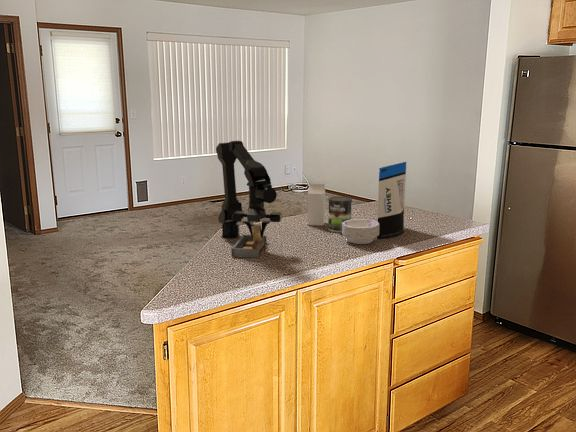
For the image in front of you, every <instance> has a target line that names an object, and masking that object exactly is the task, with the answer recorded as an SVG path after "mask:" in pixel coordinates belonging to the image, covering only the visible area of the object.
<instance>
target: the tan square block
mask: <svg viewBox="0 0 576 432" xmlns="http://www.w3.org/2000/svg"><path fill="white" fill-rule="evenodd" d="M253 243H254V241H247V243H246V242H245V247H252V244H253Z"/></svg>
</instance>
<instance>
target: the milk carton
mask: <svg viewBox="0 0 576 432" xmlns="http://www.w3.org/2000/svg"><path fill="white" fill-rule="evenodd" d="M325 222H326V188H325V183H313V182H311V183H309V184H308V191H307V226H320V227H321V226H324V224H325Z"/></svg>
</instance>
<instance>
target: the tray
mask: <svg viewBox="0 0 576 432" xmlns="http://www.w3.org/2000/svg"><path fill="white" fill-rule="evenodd" d="M263 236H264V244H267V243H268V241H267V240H268V239H267V237H268V236H267V235H266V234H264V235H263ZM247 241H253V238H252V236H251V234H242V235H241V236H240V237H239V238H238V240H237V241H236V242H235V244H234V245H233V246H232V247H231V249H230V250H231V257H232V258H234V257H239V258H259V253H258V249H244V248H243V245H244V244H246V243H247Z"/></svg>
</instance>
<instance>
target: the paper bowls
mask: <svg viewBox="0 0 576 432" xmlns="http://www.w3.org/2000/svg"><path fill="white" fill-rule="evenodd" d="M341 235H342V236H344V237H345V238H346V239H347V241H348V242H349V243H352V244H355V245H367V244H371V243H372V242H373V241H374V240H375V238H377V236H378V235H379V223H378V220H373V219H367V218H366V219H365V218H355V219H354V218H353V219H352V218H351V220H347V221H344V222H343V223H342V232H341Z"/></svg>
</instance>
